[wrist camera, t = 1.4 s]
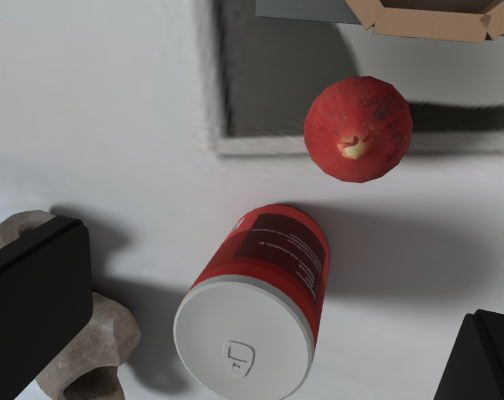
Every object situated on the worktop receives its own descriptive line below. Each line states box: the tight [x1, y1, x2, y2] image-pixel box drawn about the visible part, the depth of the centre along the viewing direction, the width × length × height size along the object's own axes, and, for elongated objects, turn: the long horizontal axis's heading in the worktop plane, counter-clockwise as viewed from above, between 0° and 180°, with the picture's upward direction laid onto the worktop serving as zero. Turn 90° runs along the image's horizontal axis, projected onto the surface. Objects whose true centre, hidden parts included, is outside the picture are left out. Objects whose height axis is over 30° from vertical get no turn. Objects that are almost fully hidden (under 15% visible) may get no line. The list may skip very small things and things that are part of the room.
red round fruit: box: [304, 76, 413, 183], centre depth 23 cm, size 6×6×8 cm
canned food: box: [173, 204, 330, 400], centre depth 26 cm, size 8×8×11 cm
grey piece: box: [0, 210, 142, 400], centre depth 36 cm, size 16×9×15 cm
